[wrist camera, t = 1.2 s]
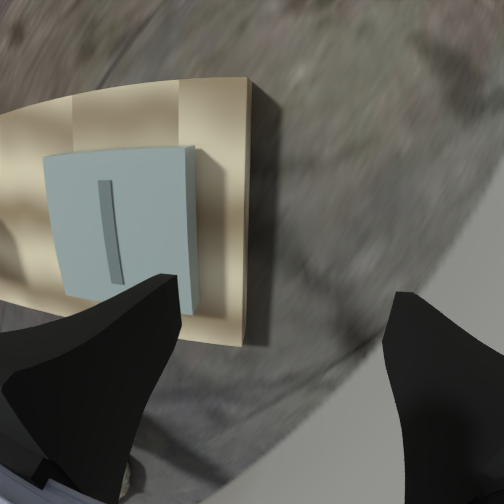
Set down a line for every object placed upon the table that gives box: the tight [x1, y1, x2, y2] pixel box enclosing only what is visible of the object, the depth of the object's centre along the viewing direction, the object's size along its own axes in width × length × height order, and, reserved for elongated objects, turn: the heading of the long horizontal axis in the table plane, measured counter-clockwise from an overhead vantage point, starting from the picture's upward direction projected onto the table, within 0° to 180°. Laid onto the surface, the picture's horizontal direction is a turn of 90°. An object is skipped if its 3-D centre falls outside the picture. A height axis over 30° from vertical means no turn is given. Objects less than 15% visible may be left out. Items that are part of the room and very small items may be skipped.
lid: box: [43, 145, 200, 315], centre depth 17 cm, size 9×9×2 cm
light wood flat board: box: [0, 77, 252, 347], centre depth 20 cm, size 16×26×2 cm, turn 89°
